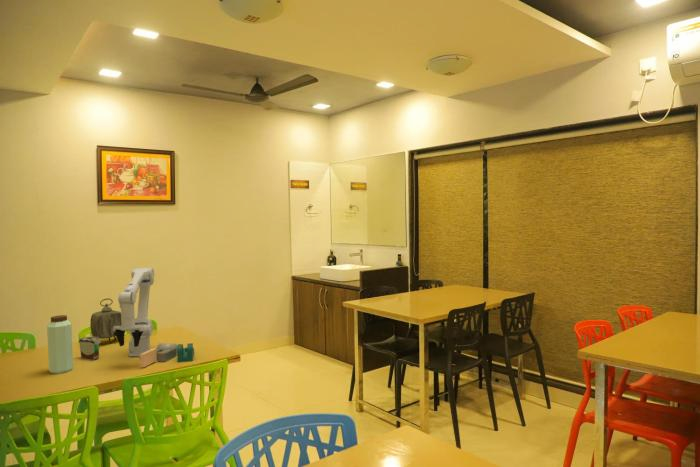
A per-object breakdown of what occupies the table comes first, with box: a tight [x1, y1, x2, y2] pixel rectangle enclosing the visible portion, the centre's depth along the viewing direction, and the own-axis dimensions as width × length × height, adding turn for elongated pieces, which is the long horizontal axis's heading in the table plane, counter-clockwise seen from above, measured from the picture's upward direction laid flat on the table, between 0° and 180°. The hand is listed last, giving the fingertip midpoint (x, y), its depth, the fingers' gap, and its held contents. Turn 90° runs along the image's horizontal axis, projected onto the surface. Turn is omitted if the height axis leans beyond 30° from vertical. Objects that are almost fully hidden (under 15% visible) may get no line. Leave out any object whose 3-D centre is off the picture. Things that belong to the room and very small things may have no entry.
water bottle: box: [46, 314, 74, 375], centre depth 216 cm, size 10×10×25 cm
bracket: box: [176, 342, 195, 363], centre depth 235 cm, size 18×7×8 cm, turn 15°
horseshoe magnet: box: [156, 342, 178, 363], centre depth 233 cm, size 13×10×6 cm
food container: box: [78, 336, 102, 361], centre depth 236 cm, size 12×6×10 cm, turn 65°
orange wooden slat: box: [139, 347, 157, 368], centre depth 222 cm, size 10×2×6 cm, turn 169°
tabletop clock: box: [89, 297, 122, 345], centre depth 264 cm, size 14×9×25 cm, turn 144°
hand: (129, 345), depth 221 cm, fingers open, 7 cm apart
